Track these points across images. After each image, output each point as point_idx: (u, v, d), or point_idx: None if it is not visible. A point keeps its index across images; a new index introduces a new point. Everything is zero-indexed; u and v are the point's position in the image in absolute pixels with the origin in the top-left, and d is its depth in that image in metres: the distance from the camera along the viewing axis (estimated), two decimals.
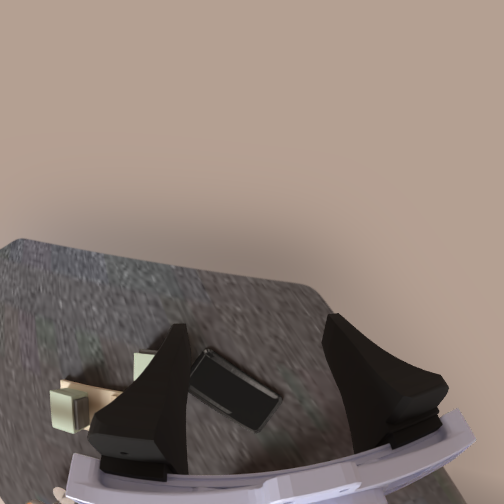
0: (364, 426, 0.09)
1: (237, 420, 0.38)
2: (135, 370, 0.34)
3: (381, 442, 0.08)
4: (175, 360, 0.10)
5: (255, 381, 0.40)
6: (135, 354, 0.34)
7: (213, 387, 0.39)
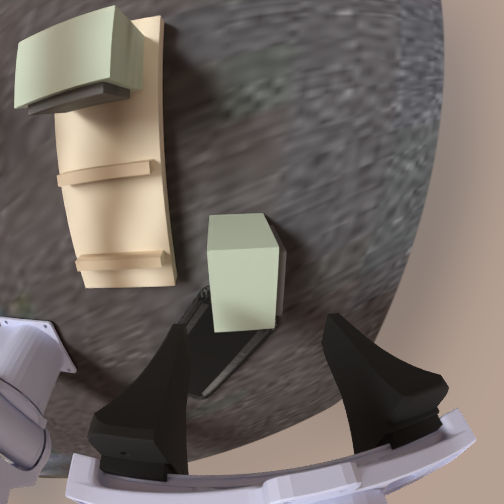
0: (364, 426, 0.09)
1: None
2: (234, 253, 0.16)
3: (380, 442, 0.08)
4: (175, 360, 0.10)
5: (225, 377, 0.28)
6: (275, 250, 0.16)
7: (210, 335, 0.25)
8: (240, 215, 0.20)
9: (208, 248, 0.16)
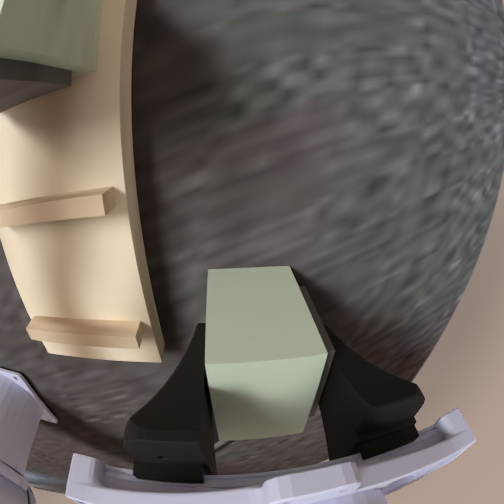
0: (336, 433, 0.09)
1: None
2: (251, 366, 0.08)
3: (352, 451, 0.08)
4: None
5: (230, 440, 0.21)
6: (320, 358, 0.09)
7: None
8: (255, 271, 0.13)
9: (207, 358, 0.08)
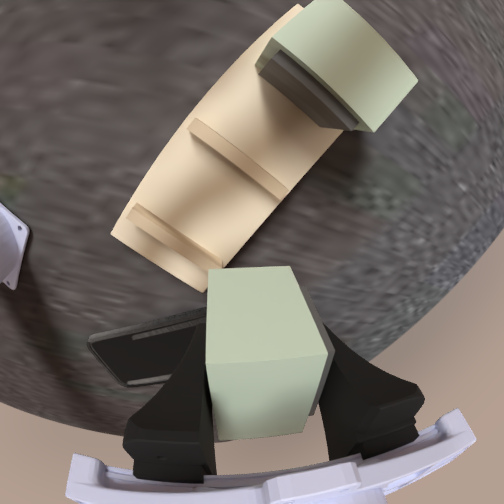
0: (337, 433, 0.09)
1: (116, 337, 0.23)
2: (252, 365, 0.09)
3: (352, 451, 0.08)
4: (205, 360, 0.10)
5: (163, 381, 0.26)
6: (321, 357, 0.09)
7: (184, 344, 0.24)
8: (256, 271, 0.13)
9: (207, 357, 0.08)
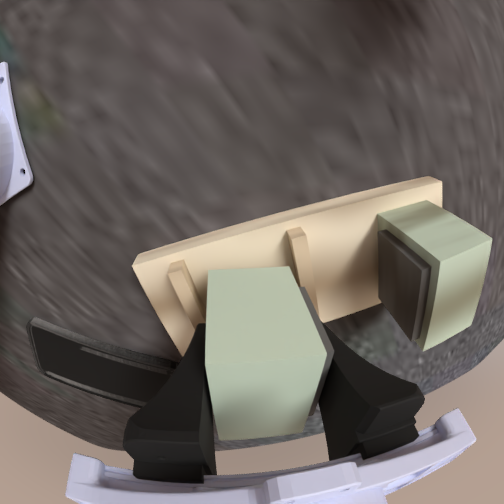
0: (337, 433, 0.09)
1: (64, 338, 0.18)
2: (251, 366, 0.09)
3: (352, 451, 0.08)
4: None
5: (84, 389, 0.21)
6: (320, 358, 0.09)
7: (130, 377, 0.21)
8: (255, 271, 0.13)
9: (207, 358, 0.09)
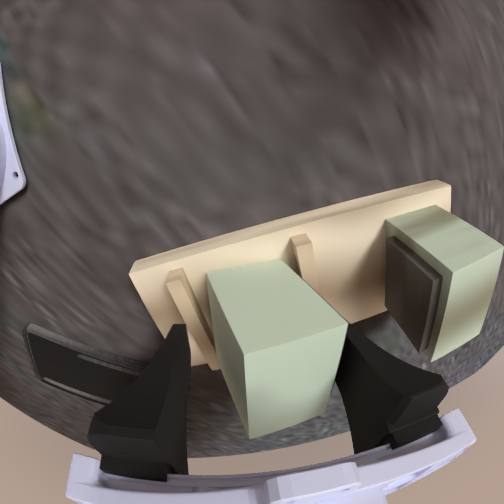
0: (364, 426, 0.09)
1: (61, 345, 0.17)
2: (286, 347, 0.09)
3: (380, 442, 0.08)
4: (175, 360, 0.10)
5: (82, 396, 0.20)
6: (342, 328, 0.10)
7: (128, 385, 0.20)
8: (252, 267, 0.14)
9: (243, 348, 0.09)
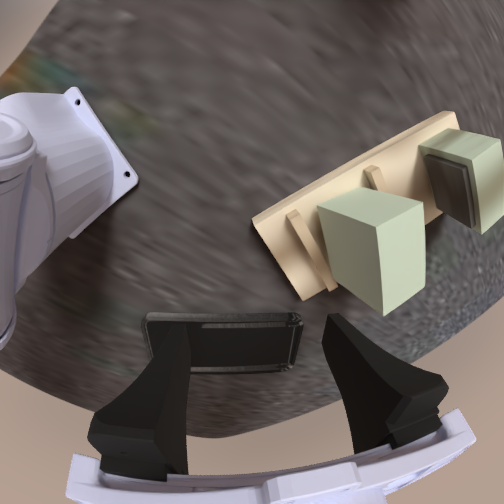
0: (364, 426, 0.09)
1: (184, 322, 0.24)
2: (395, 220, 0.13)
3: (381, 442, 0.08)
4: (175, 360, 0.10)
5: (204, 372, 0.27)
6: (421, 206, 0.14)
7: (251, 341, 0.26)
8: (345, 194, 0.18)
9: (373, 225, 0.13)
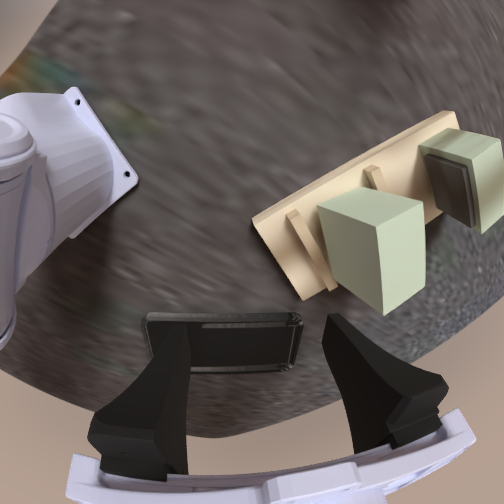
0: (364, 426, 0.09)
1: (184, 322, 0.24)
2: (395, 220, 0.13)
3: (381, 443, 0.08)
4: (175, 360, 0.10)
5: (204, 372, 0.27)
6: (421, 205, 0.14)
7: (251, 341, 0.26)
8: (345, 194, 0.18)
9: (373, 224, 0.13)
